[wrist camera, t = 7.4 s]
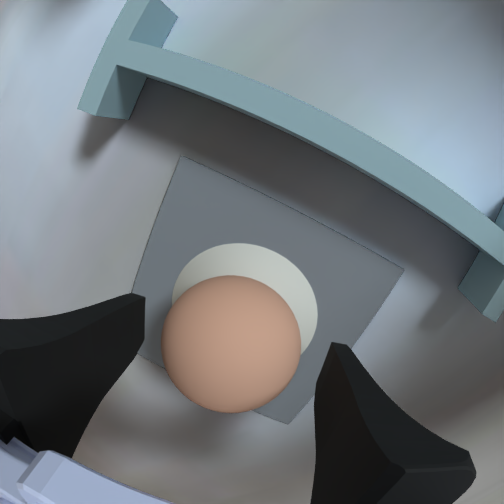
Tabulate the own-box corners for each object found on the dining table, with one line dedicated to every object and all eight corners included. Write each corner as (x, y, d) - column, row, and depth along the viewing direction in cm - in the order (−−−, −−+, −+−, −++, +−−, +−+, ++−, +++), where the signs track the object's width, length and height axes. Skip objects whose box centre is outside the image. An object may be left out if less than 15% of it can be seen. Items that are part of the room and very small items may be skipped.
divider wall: (521, 203, 10) (553, 215, 8) (470, 297, 12) (495, 322, 10) (159, 12, 10) (132, -9, 8) (111, 113, 12) (77, 108, 10)
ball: (311, 268, 13) (322, 336, 8) (286, 367, 14) (282, 450, 10) (188, 246, 13) (135, 300, 8) (181, 346, 15) (143, 420, 10)
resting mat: (402, 268, 12) (404, 270, 12) (288, 421, 16) (288, 425, 15) (182, 155, 12) (180, 155, 12) (119, 339, 16) (117, 342, 15)
